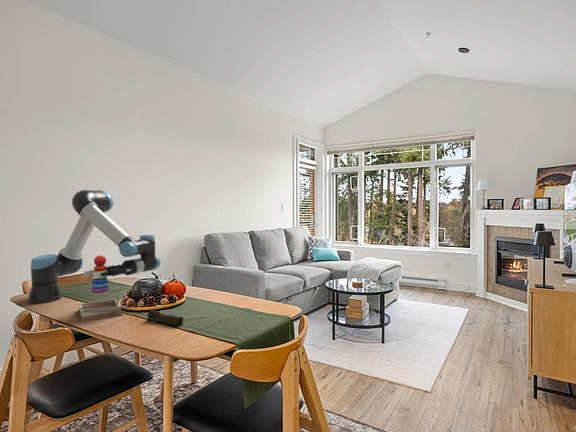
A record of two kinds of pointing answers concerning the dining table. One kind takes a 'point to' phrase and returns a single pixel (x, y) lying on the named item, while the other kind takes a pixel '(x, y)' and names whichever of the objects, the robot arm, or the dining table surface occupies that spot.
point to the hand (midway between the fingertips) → (89, 275)
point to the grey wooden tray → (99, 310)
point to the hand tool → (164, 318)
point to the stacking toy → (100, 279)
